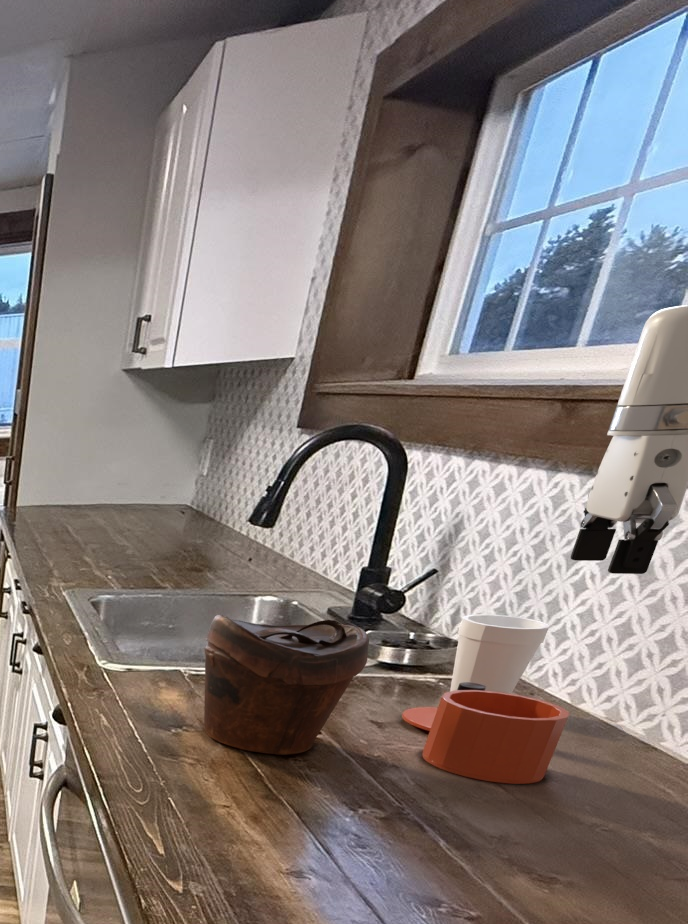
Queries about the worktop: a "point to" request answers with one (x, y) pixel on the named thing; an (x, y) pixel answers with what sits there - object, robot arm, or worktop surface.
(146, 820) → the worktop surface
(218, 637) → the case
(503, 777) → the pot
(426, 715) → the pot lid
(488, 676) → the foam cup
